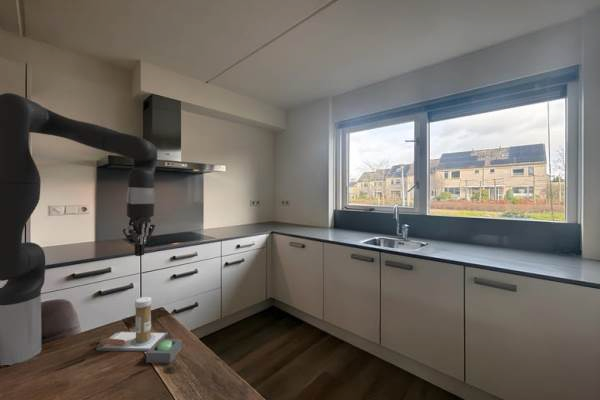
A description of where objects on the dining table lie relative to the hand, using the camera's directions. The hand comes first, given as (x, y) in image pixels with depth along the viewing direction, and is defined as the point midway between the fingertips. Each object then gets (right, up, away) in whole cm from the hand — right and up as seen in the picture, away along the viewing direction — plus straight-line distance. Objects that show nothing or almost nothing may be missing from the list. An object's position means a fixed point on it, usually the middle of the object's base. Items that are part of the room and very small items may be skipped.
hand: (139, 255), depth 83 cm
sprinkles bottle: (+1, -28, +1) cm, 28 cm away
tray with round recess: (-2, -29, +1) cm, 29 cm away
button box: (+11, -29, -5) cm, 32 cm away
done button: (+11, -29, -5) cm, 31 cm away
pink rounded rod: (-8, -28, -2) cm, 29 cm away
